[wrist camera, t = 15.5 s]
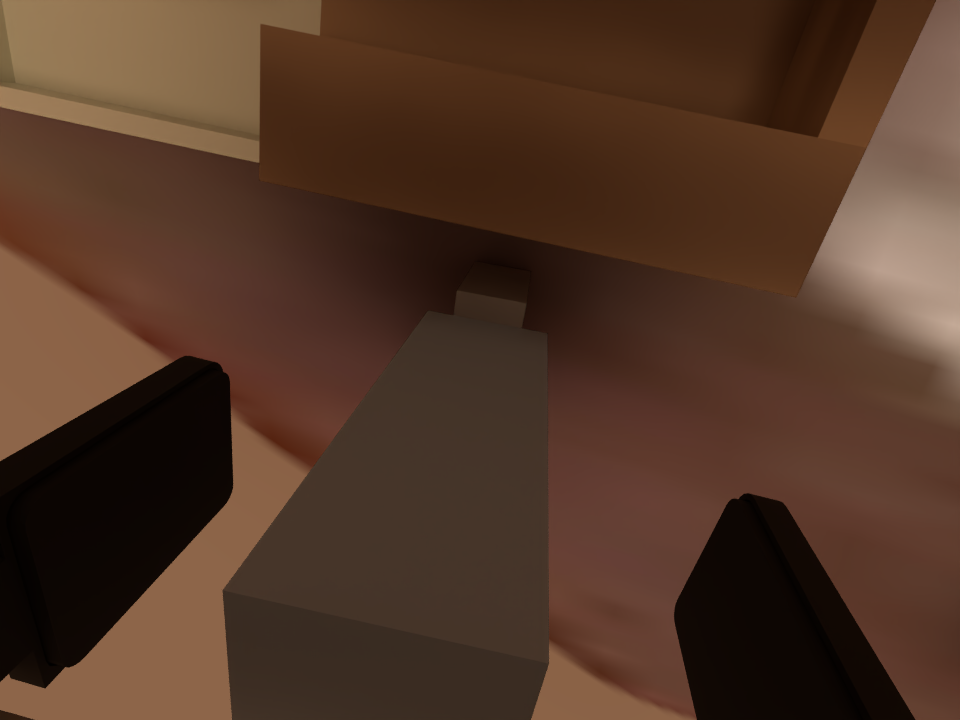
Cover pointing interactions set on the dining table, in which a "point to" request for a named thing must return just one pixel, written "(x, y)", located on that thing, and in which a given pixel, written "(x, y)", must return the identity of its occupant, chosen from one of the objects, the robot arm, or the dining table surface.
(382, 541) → the square grey bottle
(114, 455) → the robot arm
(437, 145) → the groove board
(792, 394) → the dining table surface
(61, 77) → the tray
